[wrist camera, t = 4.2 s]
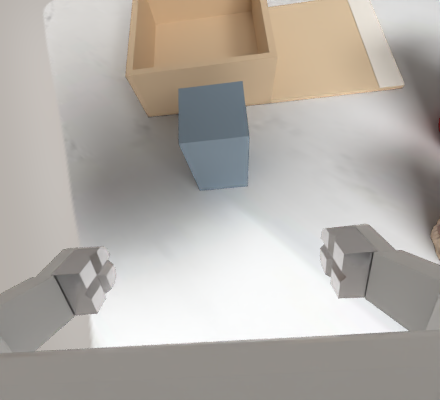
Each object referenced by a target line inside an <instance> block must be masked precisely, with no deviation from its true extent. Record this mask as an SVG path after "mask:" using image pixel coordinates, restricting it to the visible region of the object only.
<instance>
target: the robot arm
mask: <svg viewBox="0 0 440 400" xmlns="http://www.w3.org/2000/svg"><path fill="white" fill-rule="evenodd" d="M321 239H322V241H323V243H324V245H323V246H322V247H321V248H320V260H321V265H322V268H323V270H324V272H325V274H326V275H328V276H329V277H331V282H330V284H331V286H332V287H333V289H334V291H335V293H336V295H337V297H338V298H360V297H365V299H366V300H368V301H369V302H370V303H372V304H373V305H375V306H376V307H377V308H379V309H380V310H381V311H383V312H384V313H385V314H387V315H388V316H390V317H391V318H392V319H394V320H395V321H396V322H398V323H399V324H400V325H402V326H403V327H404V328H406V329H407V330H409V331H404V332H385V333H368V334H350V335H332V336H313V337H293V338H274V339H254V340H235V341H216V342H198V343H179V344H161V345H142V346H124V347H105V348H87V349H68V350H50V351H36V350H37V349H38V348H39V347H40V346H42V345H43V344H44V343H45V342H46V341H47V340H48V339H50V338H51V337H52V336H53V335H54V334H55V333H56V332H57V331H59V330H60V329H61V328H62V327H63V326H64V325H66V324H67V323H68V322H69V321H70V320H71V319H72V318H74V316H75V315H85V314H97V313H98V312H99V310H100V308H101V307H102V305H103V303H104V301H105V300H106V296H105V293H107V292H108V291H109V290H111V289H112V287H113V285H114V283H115V278H116V271H115V267H114V264H112V263H111V262H110V261H109V260H108V259H109V256H110V254H109V251H108V249H107V248H106V247H104V246H97V247H80V248H68V249H64V250H62V251H61V252H60V253H59V254H58V255H57V256H56V257H55V258H54V259H53V260H52V261H51V262H50V263H49V264H48V265H47V266H46V267H45V268H44V269H43V270H42V271H41V272H40V273H39V274H38V275H37V276H36V277H32V278H30V279H27V280H26V281H24V282H22V283H20V284H18V285H16V286H14V287H12V288H10V289H8V290H6V291H5V292H3V293H1V294H0V400H440V265H438V264H436V263H433V262H430V261H428V260H425V259H423V258H420V257H418V256H415V255H413V254H410V253H407V252H405V251H402V250H395V249H394V248H393V247H392V246H391V245H390V244H389V243H388V242H387V241H386V240H385V239H384V238H383V237H382V236H380V235H379V234H378V233H377V232H376V231H375V230H374V229H373V228H372V227H371V226H370V225H368V224H360V225H352V226H344V227H334V228H324V229H323V230H322V233H321Z"/></svg>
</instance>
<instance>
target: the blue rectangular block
mask: <svg viewBox="0 0 440 400" xmlns="http://www.w3.org/2000/svg"><path fill="white" fill-rule="evenodd" d="M178 105H179V146H180V148H181V150H182V152H183V155H184V157H185V159H186V161H187V163H188V166H189V168H190V170H191V172H192V174H193V177H194V179H195V181H196V183H197V185H198V188H199V190H200V191H201V190H212V189H223V188H234V187H244V186H248V158H249V130H248V122H247V114H246V105H245V97H244V89H243V81H238V82H230V83H222V84H213V85H205V86H197V87H189V88H180V89H178Z"/></svg>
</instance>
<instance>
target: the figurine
mask: <svg viewBox="0 0 440 400" xmlns="http://www.w3.org/2000/svg"><path fill="white" fill-rule="evenodd" d="M430 236H431V240H432V241H433V243H434V246H435V249H436V254H437V256H438V258H439V260H440V218H439V219H438V221H437V225H435V226H434V227H433V229H432V231H431V235H430Z"/></svg>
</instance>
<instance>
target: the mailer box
mask: <svg viewBox="0 0 440 400" xmlns="http://www.w3.org/2000/svg"><path fill="white" fill-rule="evenodd" d="M125 76H126V78H127V80H128V81H129V83H130V85H131V87H132V89H133V90H134V92H135V94H136V96H137V98H138V99H139V101H140V103H141V105H142V106H143V108H144V110H145V112H146V114H147V115H148V117H154V116H163V115H172V114H179V105H178V89H180V88H189V87H197V86H205V85H213V84H222V83H230V82H238V81H243V89H244V97H245V105H246V106H251V105H259V104H268V103H277V102H286V101H294V100H303V99H312V98H321V97H330V96H338V95H347V94H356V93H365V92H373V91H382V90H391V89H400V88H402V87H403V86H404V85H405V83H404V81H403V79H402V76H401V74H400V71H399V69H398V67H397V64H396V62H395V59H394V57H393V54H392V52H391V50H390V47H389V45H388V42H387V40H386V38H385V35H384V33H383V30H382V28H381V26H380V23H379V21H378V18H377V16H376V14H375V11H374V9H373V6H372V4H371V1H370V0H316V1H309V2H302V3H295V4H287V5H280V6H273V7H268V4H267V0H133V2H132V12H131V23H130V33H129V44H128V54H127V64H126V75H125Z"/></svg>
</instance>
